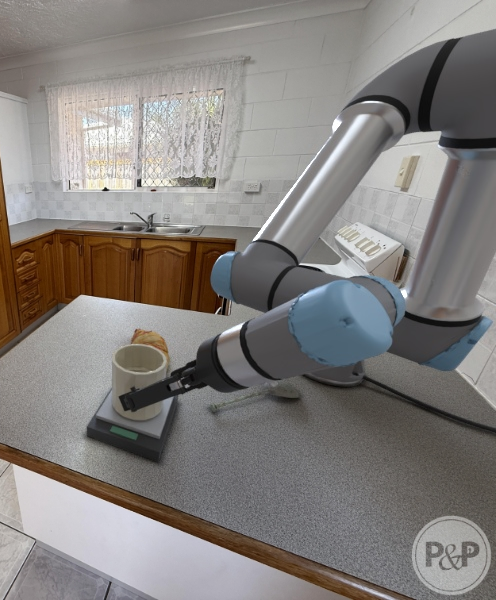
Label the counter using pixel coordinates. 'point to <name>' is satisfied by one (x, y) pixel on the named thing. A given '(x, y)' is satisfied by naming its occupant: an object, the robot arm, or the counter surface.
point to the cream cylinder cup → (137, 376)
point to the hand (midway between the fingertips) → (152, 389)
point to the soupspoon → (279, 390)
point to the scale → (132, 428)
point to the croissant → (151, 341)
